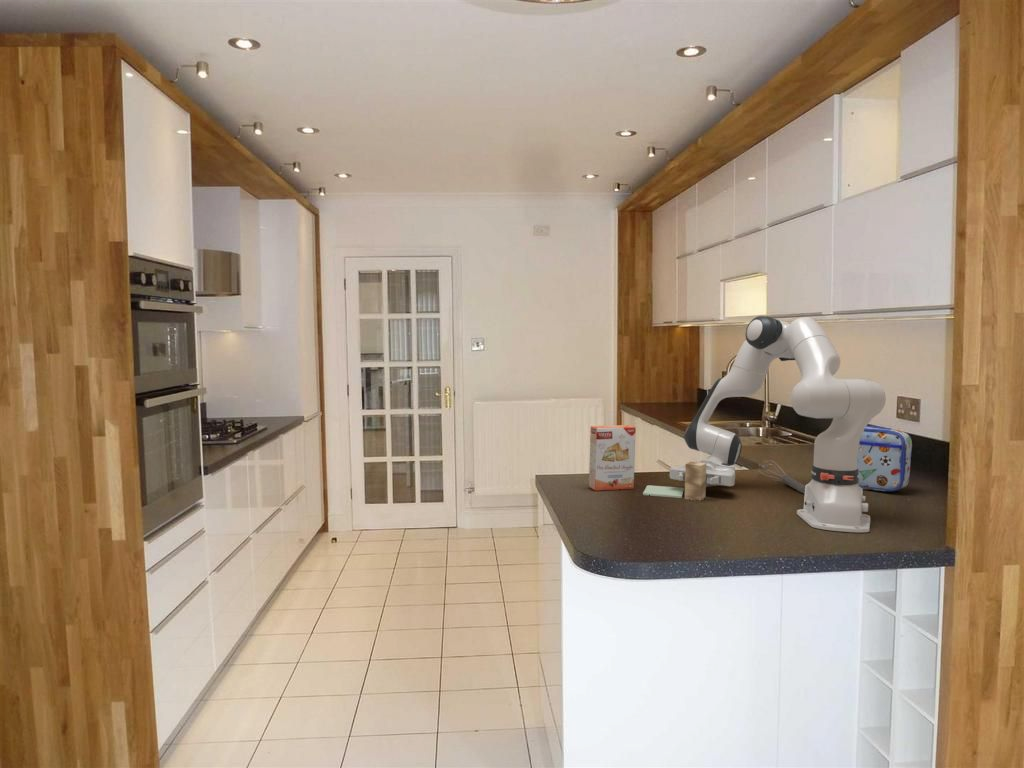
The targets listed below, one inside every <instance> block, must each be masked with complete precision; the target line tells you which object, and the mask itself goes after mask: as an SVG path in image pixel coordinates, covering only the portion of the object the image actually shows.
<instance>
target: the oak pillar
mask: <svg viewBox="0 0 1024 768" xmlns="http://www.w3.org/2000/svg"><path fill="white" fill-rule="evenodd" d="M684 466H685V481H684V500H689V499H690V500H691V501H696V500H699V501H698V502H702V501H703V500H704V498H705V499H706V497H707V496H706V495H707V494H706V493H707V492H706V489H707V487H706V463H699V461H689V462H686V463H685V465H684ZM690 500H689V501H690ZM701 500H702V501H701Z"/></svg>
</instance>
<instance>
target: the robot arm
mask: <svg viewBox="0 0 1024 768" xmlns="http://www.w3.org/2000/svg"><path fill="white" fill-rule="evenodd" d="M776 359H779V360H780V362H786V361H795V363H796V365H797V367H798V370H799V373H800V374H801V375H800V376H801V378H800V381H799V382H797V383H796V384H795V386H794V387H793V389H792V391H791V394H790V403H791V406H792V409H793V410H794V411H795V413H796V414H797V415H799V416H802V417H805V418H812V419H832V421H831V424H830V425H829V427H828V428H827V429H825V430H824V431H822V432H821V433H819V434H818V435H817V436H816V438H815V440H814V446H813V465H811V470H810V473H811V474H810V477H811V480H810V481H809V482H808V483H807V484H806V485H805V494H804V497H803V499H804V500H803V508H802V509H801V508H800V509H797V510H796V515H798V516H799V517H800V518H801V519H802V520H803V521H804V522H806V523H807V524H808V525H809V526H810V527H812V528H814V529H818V530H824V531H825V530H826V531H833V532H842V533H843V532H845V533H869V532H870V527H871V516H870V515H869V514H866V512H869V503H868V502H866V497H867V496H866V495H863V492H864V491H863V490H864V489H862V488H861V487H860V486H859V485H858V483H859V470H858V469H857V460H858V449H859V442H860V439H861V436H862V433H863V431H864V429H865V428H866V426H867V425H868V424H869V423H870V422H871V420H873V418H875V417H876V416H878V415H879V414H880V413H881V412H882V411H883V410H884V407H885V405H886V400H887V399H886V392H885V389H884V388H883V387H882V386H881V384H880V383H879V382H877V381H872V380H868V379H864V378H863V379H862V378H836V377H835V376H834V375H835V374H836V373H837V372H838V371H839V369H840V366H841V357H840V355H839V353H838V352H837V350H836V347H835V346H834V344H833V342H832V341H831V339H830V337H829V336H828V334H827V332H826V331H825V330H824V328H822V326H821V325H820V323H818V322H817V321H816V320H815V319H813V318H811V317H808V316H804V317H798V318H796V319H794V320H792V321H791V322H790V323H789V322H787V321H786V320H785V321H784V320H782V319H777V318H774V317H772V316H766V315H758V316H756V317H754V318H753V319H751V321H750V322H748V325H747V326H746V329H745V340H744V341H743V343H742V345H741V346H740V348H739V350H738V352H737V354H736V356H735V359H734V361H733V363H732V366H731V369H729V372H728V373H726V375H725V376H724V377H718V379H717V380H716V381H715V382H714V384H712V387H711V388H710V389H709V391H708V392H707V395H706V397H705V399H704V400H703V402H702V403H701V406H700V407H699V409H698V411H697V413H696V414H695V416H694V418H693V419H692V420H691V422H690V424H689V425H688V427H687V428H686V430H685V432H684V436H683V439H684V441H685V444H686V445H687V447H688V448H689V449H691V450H694V451H696V452H702V453H705V454H707V455H708V457H706V458H704V459H700V461H698V462H699V463H706V488H707V487H710V488H711V487H713V486H714V487H717V486H725V487H733V486H734V485H735V482H736V481H735V480H736V466H735V464H736V463H737V461H738V460H739V458H740V455H741V452H742V449H743V448H742V446H743V444H742V442H741V441H742V440H741V438H740V437H739V435H738V434H737V433H734V432H732V431H729V430H727V429H725V428H724V429H723V428H721V427H717V426H715V425H712V424H710V423H709V420H710V419H711V416H712V415H713V414H714V411H715V410H716V408H717V406H718V404H719V403H720V402H721V401H722V400H724V399H726V398H736V397H737V398H741V397H742V398H743V397H749V396H752V395H755V394H756V393H758V392H759V391H760V390H761V389H762V386H763V385H764V382H765V380H766V377H767V374H768V372H769V368H770V366H771V363H772V362H773V361H774V360H776ZM669 478H670V479H672V480H676V481H677V480H678V481H681V482H685V465H676V466H672V467H670V468H669ZM863 512H864V513H863Z"/></svg>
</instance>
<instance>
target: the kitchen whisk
mask: <svg viewBox="0 0 1024 768" xmlns="http://www.w3.org/2000/svg"><path fill="white" fill-rule="evenodd" d="M769 462H773V463H774V464H773V463H769ZM766 463H768V464H766ZM769 465H770V466H771V467H773V468H774V469H775V470H777V468H776V467H778V468H779V469H780V470H781V471H782V473H783V474H780V472H778V471H775V475H777V476H779V477H781V478H779V477H777V479H776V477H775V476H773V479H774V478H775V481H776V482H778V481H779V482H782V483H784V484H786V485H788V486H789V487H791V488H793V489H794V490H796V491H797V492H799V493H801V494H803V495H805V486H806V485H805V484H803V483H801V482H800V481H798V480H797V479H794V478H793V477H791V476H789V475H787V474H786V473H785V471H784V470H783V469H782V468H781V467H780V466H779V465H778V464H775V461H773V460H772V459H771V460H765V461H764V463H763V464H760V463H759V464H758V466H761V467H759V468H758V472H759V473H760V474H762V476H763V475H765V476H767V477H771V478H772V476H771V475H770V474H769V473H768V472H767V471H769V472H771V473H773V470H771V469H769V468H768V467H766V466H769ZM773 465H774V466H773ZM760 469H761V470H763V469H764V471H765V472H766V474H765V473H763V472H762V471H760ZM769 475H770V476H769Z"/></svg>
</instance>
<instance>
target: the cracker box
mask: <svg viewBox="0 0 1024 768" xmlns="http://www.w3.org/2000/svg"><path fill="white" fill-rule="evenodd" d="M589 433H590V435H589V437H590V438H589V466H588V467H589V471H588V472H589V473H588V476H589V477H588V487H589V488H590V489H591V490H593V491H595V492H596V491H597V492H598V491H599V492H601V491H616V490H617V491H618V490H619V489H620V490H633V489H634V484H635V456H636V455H635V454H636V427H635V426H633V425H631V424H630V425H629V424H625V425H624V424H622V425H619V424H618V425H617V424H616V425H613V424H611V425H590V431H589Z"/></svg>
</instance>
